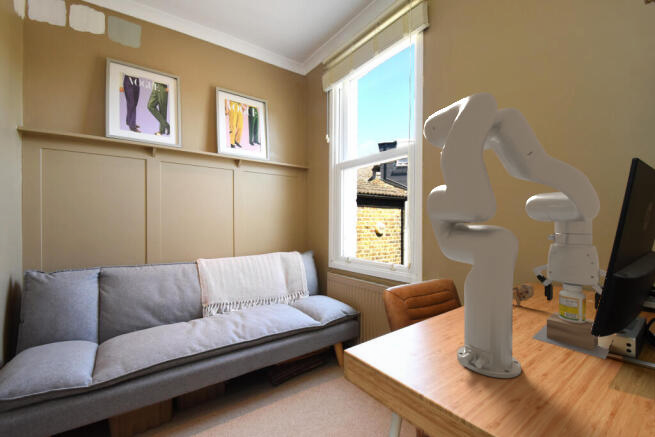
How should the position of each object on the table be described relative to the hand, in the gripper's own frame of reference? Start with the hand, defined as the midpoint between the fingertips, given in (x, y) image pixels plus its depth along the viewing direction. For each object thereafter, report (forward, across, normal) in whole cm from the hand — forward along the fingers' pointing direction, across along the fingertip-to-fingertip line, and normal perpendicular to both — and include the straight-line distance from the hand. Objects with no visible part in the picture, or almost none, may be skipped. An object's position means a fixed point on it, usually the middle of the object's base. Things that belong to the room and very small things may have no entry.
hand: (572, 304), depth 73 cm
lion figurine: (+10, -21, +21) cm, 31 cm away
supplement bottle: (+4, 0, 0) cm, 5 cm away
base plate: (+10, 0, 0) cm, 10 cm away
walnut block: (+9, 0, 0) cm, 9 cm away
